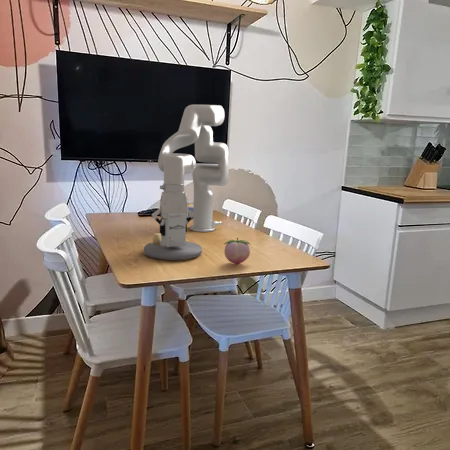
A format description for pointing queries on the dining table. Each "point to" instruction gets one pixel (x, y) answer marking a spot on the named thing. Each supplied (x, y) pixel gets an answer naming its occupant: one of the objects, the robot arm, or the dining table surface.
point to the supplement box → (174, 230)
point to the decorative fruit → (237, 251)
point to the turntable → (171, 250)
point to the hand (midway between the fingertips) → (173, 234)
